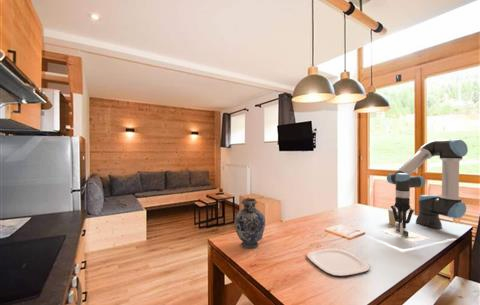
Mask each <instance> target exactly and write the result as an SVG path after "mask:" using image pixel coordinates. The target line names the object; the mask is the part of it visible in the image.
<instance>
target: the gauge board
mask: <svg viewBox="0 0 480 305" xmlns="http://www.w3.org/2000/svg"><path fill="white" fill-rule="evenodd" d="M405 230H406V229H405ZM379 231H380V232H384V233H385V234H389V235H391V236H395V237H397V238H401V239H403V240H405V241H407V242H411V243H417V242H421V241H425V240H430V239H431V237H429V236H425V235H422V234H419V233H416V232H412V231H409V230H406V231H408V236H405V235H404V234H402V233H400V232H399V231H396V226H395V227H390V228H383V229H379Z"/></svg>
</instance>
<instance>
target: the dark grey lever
mask: <svg viewBox="0 0 480 305" xmlns="http://www.w3.org/2000/svg"><path fill="white" fill-rule="evenodd" d="M394 226H395V227H396V231H399V232H400V227H398V222H395V225H394ZM408 231H409V230H407V231H406V228H405V229H404V233H403V234H404V235H405V236H408Z"/></svg>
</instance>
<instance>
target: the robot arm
mask: <svg viewBox="0 0 480 305" xmlns="http://www.w3.org/2000/svg"><path fill="white" fill-rule="evenodd" d="M468 150H469V149H468V145H467V143H466V142H465V141H464V140H462V139H460V138H459V139H458V138H456V139H455V138H451V139H450V138H449V139H435V140H431V141H430V140H429V141H428V142H427V143H425V144H423V145H422V146H420V147H419V148H418V149H417V150H416V153H415V154H414V155H413V156H412V157H410V158H409V160H407V161H405V163H404V164H403V165H401V167H399V168H398V170H396V171H395V172H392V173H388V174H387V175H386V180H387V183H389V184H392V185H395V197H394V198H395V199H394V200H395V203H394V204H393V205H391V206H390V209H392V210H393V214H394V218H395V221H397V222H398V227H400V233H402V234H403V233H404V229H405V230H406V228H407V224H409V223H410V222H411V219H412V215H413V214H414V212H415V209H413V208H412V207H411V205H410V201H411V199H410V196H411V194H410V193H411V192H410V190H411V188H422V187H424V186H425V185H426V179H425V178H424V177H423V176H422V175H411V174H413V173H414V172H415V171H416V170H417V169H418V168H420V167H421V166H422V164H424V163H425V162H426V161H427V160H430V159H431V158H432V157H435V156H436V157H437V156H438V157H439V159H440V160H441V162H442V164H441V165H442V166H441V194H440V195H436V194H420V195H419V196H418V215H417V217H416V219H415V224H416V225H418V226H422V227H425V228H428V229H434V230H437V229H439V230H440V229H442V228H443V225H442V222H441V219H440V216H443V217H447V218H449V219H450V218H451V219H461V218H462V217H463V216H465V215H466V212H467V205H466V204H465V202H463V201H462V198H461V197H460V196H459V191H460V189H459V188H460V186H459V185H460V161H462V160H463V157H465V156H467V153H468V152H469V151H468ZM396 209H398V215H397V211H396ZM408 211H409V212H408ZM407 212H408V215H407ZM402 213H403V220H402Z"/></svg>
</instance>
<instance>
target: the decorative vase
mask: <svg viewBox="0 0 480 305" xmlns="http://www.w3.org/2000/svg"><path fill="white" fill-rule="evenodd" d="M241 204H242V205H243V208H242V209H240V210H238V211H237V212H236V214H235V217H234V228H235V232H236V235H237V236H238V238H239V239H240V241H241V245H242V246H241V245H240V246H241V247H243V249H246V248H248V249H247V250H252V249H253V248H254V249H257V248H258V247H259V245H260V244H259V241H260V240H262V238H263V235H264V231H265V228H266V219H265V218H266V216H265V215H264V213H263V212H262V211H261V210H259V209H257V208H256V204H258V201H257V199H256V198H251V197H250V198H249V196H248V197H247V198H244V199H242V201H241Z"/></svg>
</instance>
